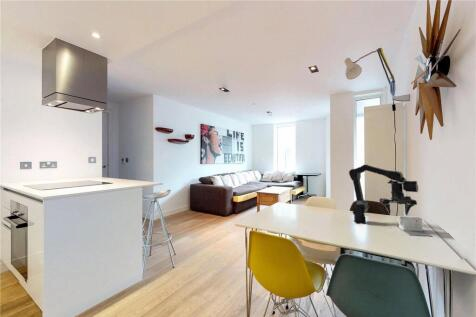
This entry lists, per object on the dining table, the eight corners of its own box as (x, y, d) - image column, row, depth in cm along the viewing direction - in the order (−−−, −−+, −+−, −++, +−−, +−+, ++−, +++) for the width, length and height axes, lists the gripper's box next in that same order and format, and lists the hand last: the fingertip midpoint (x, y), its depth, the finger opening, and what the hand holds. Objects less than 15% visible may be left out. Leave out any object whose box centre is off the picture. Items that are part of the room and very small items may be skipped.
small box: (398, 227, 136) (416, 228, 134) (403, 230, 131) (422, 231, 128) (398, 215, 136) (416, 216, 134) (403, 217, 131) (422, 218, 128)
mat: (410, 235, 123) (410, 234, 123) (396, 226, 141) (396, 225, 141) (432, 236, 120) (432, 236, 120) (415, 227, 138) (415, 226, 138)
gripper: (385, 192, 128) (386, 217, 128) (421, 192, 123) (422, 218, 122) (378, 189, 139) (379, 212, 138) (411, 190, 133) (412, 214, 133)
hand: (397, 214), depth 133 cm, fingers open, 9 cm apart
